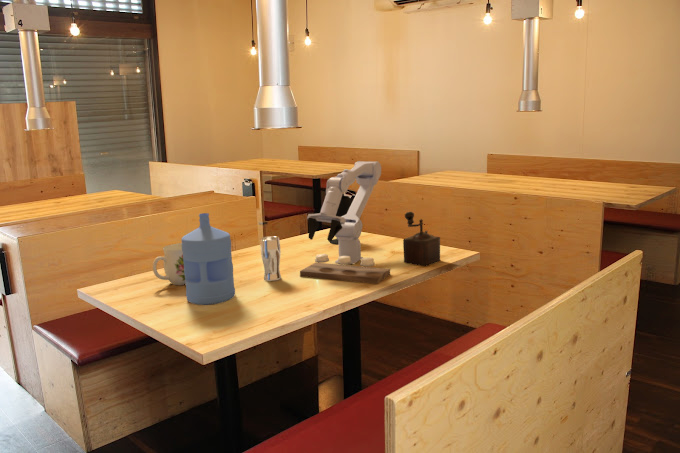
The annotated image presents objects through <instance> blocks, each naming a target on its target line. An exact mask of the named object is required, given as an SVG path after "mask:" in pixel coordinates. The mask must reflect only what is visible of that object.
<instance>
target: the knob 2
mask: <svg viewBox="0 0 680 453" xmlns="http://www.w3.org/2000/svg"><path fill="white" fill-rule="evenodd" d="M337 260H338V261H337ZM337 260H336V261H337V263H336V264H338V265H351V264H350V263H351V260H350V256H340V257H339V256H338V257H337Z"/></svg>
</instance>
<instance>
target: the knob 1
mask: <svg viewBox="0 0 680 453" xmlns="http://www.w3.org/2000/svg"><path fill="white" fill-rule="evenodd" d="M314 261H315V262H314V263H328V262H330V258H329V255H328V254H327V253H318V254H316V255H315V259H314Z"/></svg>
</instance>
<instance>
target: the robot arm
mask: <svg viewBox="0 0 680 453" xmlns="http://www.w3.org/2000/svg"><path fill="white" fill-rule="evenodd" d="M381 175H382V164H381V163H380V162H379V161H377V160H376V161H362V160H357V161H356V162H354V166H353V167H352V168H351V169H348V168H344V169H343V170H342V172H341V173H338V174H337V175H336V176H332V177H330V178H328V179H327V181H326V188H325V196H324V201H323V203H322V206H321V208H320V212H319V213H308V215H307V218H306V219H307V222H308V223H307V224H308V239H309V240H313V239H314V237H315V235H316V231H317V229H318V228H319V226H320V224H319V222H322V223H330V226H329V227H330V228H329V232H328V235H327V237H326V238H327V239H326V240H328V242H329V243H330V242H331V241H332V240H333V239H335V237H336V239H338V244H339V245H338V257H340V256H350V260H351V263H350V264H349V265H355V264H356V263H358V262H359V261H361V259H362V258H364V257H363V256H362V251H361V250H362V248H361V247H362V246H361V245H362V244H361V241H360V239H359V238H360V236H361V235H362V229H363V226H364V224H363V222H362V220H361V216H362V214H363V212H364V210H365V207H367V206H366V205H367V203H368V201H369V199H370V197H371V194H372V192H373V191H374V188H375V185H377V184H378V182H379V179H380V178H381ZM355 181H356V184H358V185H359V187H358V189H357V191H356V194H355V196H354V198H353V200H352V201H351V206H350V208H349V210H348V212H347V214H346V215H344V216H342V217H338V216H336V213H337V210H338V207H339V204H340V201H341V197H342V196H343V195H344V193H347V192H348V189H349V187H350V186H351V185H352V184H354V183H355ZM337 261H338V259H337V260H335V261H334V262H335V263H334V264H338V263H337Z"/></svg>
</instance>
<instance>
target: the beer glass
mask: <svg viewBox="0 0 680 453" xmlns="http://www.w3.org/2000/svg"><path fill="white" fill-rule="evenodd" d="M281 252H282V251H281V243H280V237H279V236H275V235H271V236H270V235H269V236H264V237H261V238H260V255H261V259H262V264H263V268H264V274H263V279H264V280H263V281H266V282H277V281H279V280H282V275H281V271H280V264H281Z"/></svg>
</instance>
